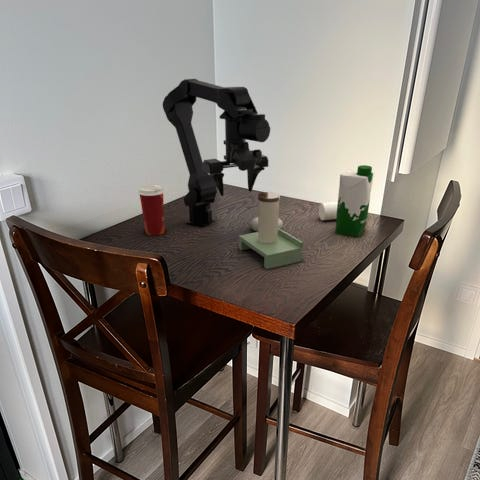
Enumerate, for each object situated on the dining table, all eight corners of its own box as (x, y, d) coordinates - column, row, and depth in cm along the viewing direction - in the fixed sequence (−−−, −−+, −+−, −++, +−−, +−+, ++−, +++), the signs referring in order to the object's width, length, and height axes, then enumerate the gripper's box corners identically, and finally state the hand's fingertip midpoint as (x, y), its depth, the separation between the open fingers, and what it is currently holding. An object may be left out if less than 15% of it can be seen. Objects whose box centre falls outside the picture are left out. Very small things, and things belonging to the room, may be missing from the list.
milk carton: (359, 238, 146) (368, 171, 136) (331, 233, 150) (337, 167, 140) (368, 229, 153) (377, 164, 142) (341, 224, 157) (347, 161, 146)
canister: (253, 241, 134) (254, 196, 127) (262, 234, 138) (263, 191, 132) (273, 245, 131) (274, 199, 125) (281, 238, 136) (283, 194, 130)
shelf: (238, 248, 140) (238, 230, 137) (271, 241, 144) (272, 224, 142) (266, 269, 128) (267, 249, 125) (301, 261, 132) (303, 242, 129)
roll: (358, 220, 160) (360, 203, 157) (323, 222, 158) (325, 206, 156) (351, 214, 165) (353, 198, 162) (318, 216, 163) (319, 200, 161)
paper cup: (172, 232, 152) (169, 187, 145) (153, 238, 147) (148, 192, 140) (156, 226, 156) (152, 182, 149) (137, 232, 152) (132, 187, 144)
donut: (248, 234, 150) (280, 235, 148) (248, 223, 148) (280, 225, 147) (253, 223, 159) (284, 224, 157) (253, 213, 157) (284, 214, 155)
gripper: (217, 145, 124) (219, 205, 132) (279, 139, 132) (277, 196, 140) (200, 138, 133) (202, 195, 141) (259, 132, 140) (258, 186, 148)
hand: (236, 193), depth 142 cm, fingers open, 9 cm apart
